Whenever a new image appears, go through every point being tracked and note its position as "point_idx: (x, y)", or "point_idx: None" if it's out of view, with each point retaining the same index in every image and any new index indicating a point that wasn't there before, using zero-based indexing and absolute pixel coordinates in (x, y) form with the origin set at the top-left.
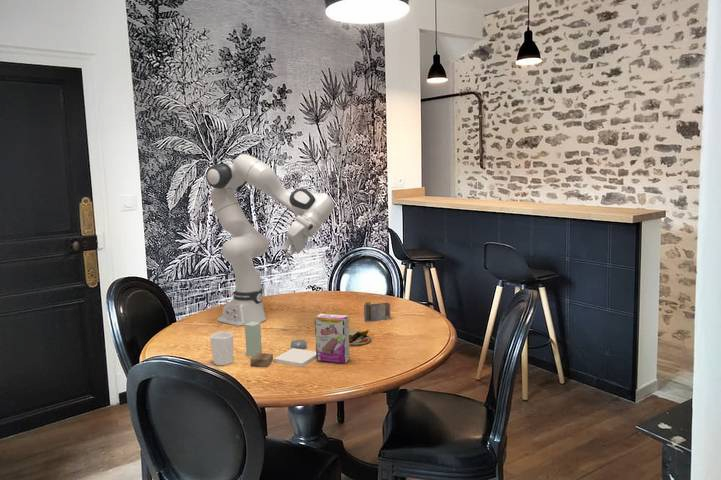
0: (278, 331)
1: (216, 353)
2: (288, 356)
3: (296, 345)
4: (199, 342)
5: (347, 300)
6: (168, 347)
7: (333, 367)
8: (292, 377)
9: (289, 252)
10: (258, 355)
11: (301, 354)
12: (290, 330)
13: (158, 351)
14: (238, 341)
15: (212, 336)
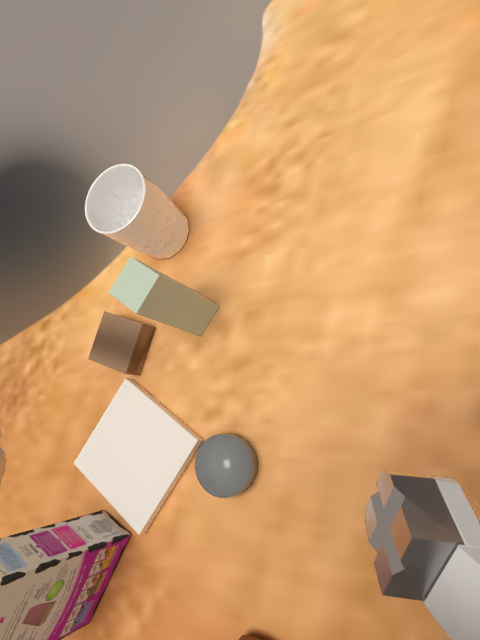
0: (466, 381)
1: (125, 210)
2: (130, 423)
3: (198, 455)
4: (362, 95)
5: None
6: (327, 21)
7: None
8: (32, 430)
9: (466, 591)
10: (123, 331)
11: (136, 466)
12: (475, 440)
13: (294, 14)
14: (347, 230)
15: (130, 169)
